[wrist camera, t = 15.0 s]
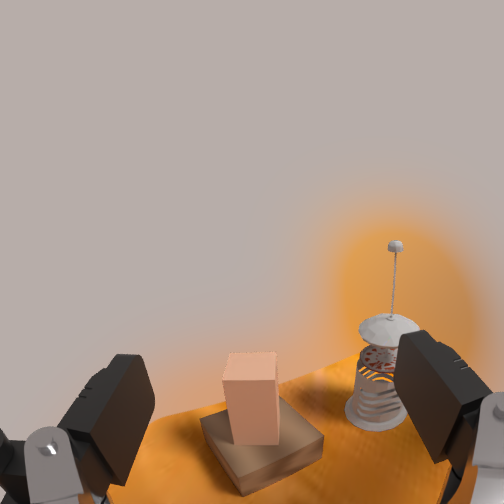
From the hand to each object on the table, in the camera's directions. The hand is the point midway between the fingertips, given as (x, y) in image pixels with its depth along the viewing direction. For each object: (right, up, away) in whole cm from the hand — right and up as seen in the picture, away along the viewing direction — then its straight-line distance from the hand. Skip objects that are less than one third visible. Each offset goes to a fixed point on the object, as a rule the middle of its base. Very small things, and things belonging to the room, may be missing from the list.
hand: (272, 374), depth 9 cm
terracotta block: (0, -17, +23) cm, 29 cm away
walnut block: (+1, -22, +25) cm, 33 cm away
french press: (+18, -19, +29) cm, 40 cm away
